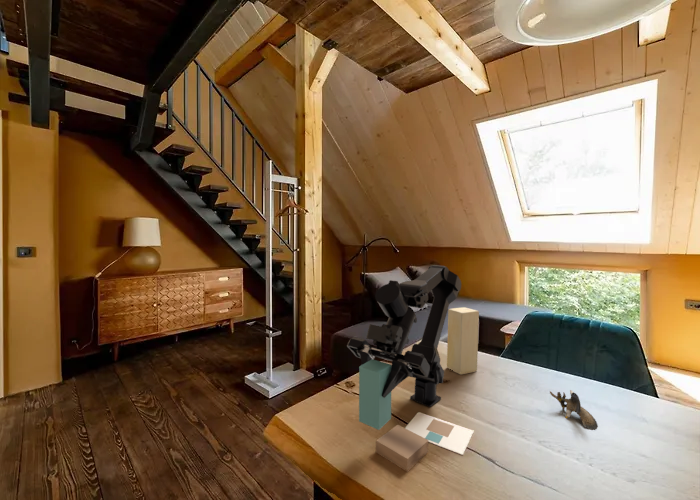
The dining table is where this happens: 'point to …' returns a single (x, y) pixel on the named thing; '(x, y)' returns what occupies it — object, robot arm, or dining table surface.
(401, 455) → the walnut base brick
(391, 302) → the robot arm
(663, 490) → the dining table surface
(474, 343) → the cream tall rectangular block
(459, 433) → the page
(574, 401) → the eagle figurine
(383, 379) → the teal brick
